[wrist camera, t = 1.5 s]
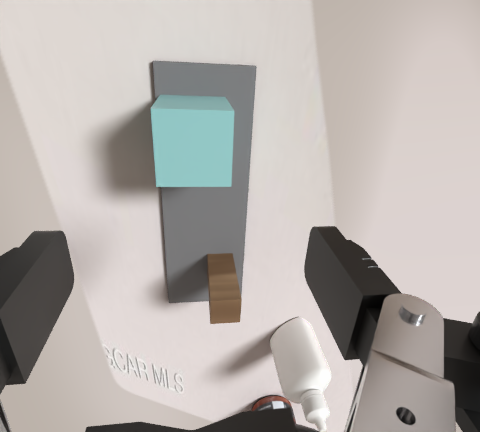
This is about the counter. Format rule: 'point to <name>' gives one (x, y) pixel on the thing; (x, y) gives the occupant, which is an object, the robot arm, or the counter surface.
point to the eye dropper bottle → (302, 369)
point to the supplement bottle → (273, 404)
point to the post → (223, 289)
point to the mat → (207, 198)
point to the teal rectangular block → (192, 141)
